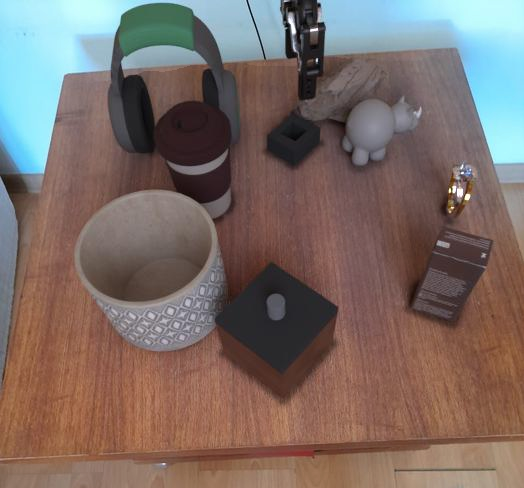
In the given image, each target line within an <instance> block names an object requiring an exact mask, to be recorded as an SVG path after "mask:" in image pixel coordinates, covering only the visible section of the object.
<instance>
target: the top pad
mask: <svg viewBox="0 0 524 488" xmlns="http://www.w3.org/2000/svg"><path fill="white" fill-rule="evenodd" d="M292 138H293V139H294V140H293V139H292ZM320 141H321V127H320V126H319V125H317V124H314V123H313V122H311V121H310V120H305V119H304V118H302V117H300V116H298V115H296V114H295V113H292V114H291V115H290V114H289V115H288V116H287V117H286V118H285V119H284V120H282V122H280V123H279V124H278V125H277V126H276V127H274V129H272V130H271V131H269V133H268V134H267V135H266V148H267V151H268V152H269V153H271V154H273V155H274V156H276V157H278V158H280V159H281V160H283V161H285V162H286V163H288V164H290V165H291V166H293V167H295V166H297V165H298V164H299V163H300V162H301V161H302V160H303V159H304V158H305V157H306V156H307V155H309V153H310V152H312V151H313V150H314V149H316V147H317V146H318V145H320Z"/></svg>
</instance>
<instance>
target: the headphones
mask: <svg viewBox="0 0 524 488" xmlns="http://www.w3.org/2000/svg"><path fill="white" fill-rule="evenodd" d="M157 46H158V47H159V46H170V47H177V48H178V47H179V48H182V49H185V50H189V51H191V52H195V53H197V54H198V55H199V56H200V57H201V58H202V59H203V60H204V61H205V63H206V64H207V66H208V67H209V68H205V69H203V71H202V75H201V90H202V91H201V93H202V102H204V103H206V104H209V105H212V106H214V107H217V108H219V109H220V110H221V111H223V112H224V113H225V114H226V116H227V117H228V119H229V121H230V125H231V132H232V138H231V143H230V145H229V146H233V145H236V144H237V143H238V142H239V141H240V139H241V133H242V131H241V130H242V127H241V113H240V111H241V110H240V102H239V91H238V84H237V79H236V76H235V75H234V72H232V71H231V70H228V69H225V68H224V64H223V58H222V55H221V51H220V48H219V44H218V43H217V41H216V38H215V37H214V34H213V33H212V31H211V29H210V28H209V27H208V26H207V25H206V23H205V22H204V21H203V20H201V18H199V17H198V16H197V15H195V13H194V10H193V9H192V8H190V7H188V6H185V5H182V4H178V3H172V2H153V3H152V2H151V3H145V4H141V5H137V6H134V7H132V8H130V9H128V10H126V11H124V13H122V14H121V15H120V20H119V25H118V27H117V29H116V31H115V35H114V38H113V46H112V53H111V62H110V81H111V83H110V84H109V86H108V90H107V109H108V117H109V122H110V126H111V130H112V132H113V136H114V137H115V140H116V142H117V144H118V145H119V146H120V148H121V149H122V150H124V151H125V152H126V153H131V154H135V153H139V154H142V155H148V154H152V153H153V152H154V150H155V147H156V143H155V140H154V128H155V126H156V123H155V117H154V110H153V103H152V100H151V96H150V91H149V89H148V86H147V84H146V82H145V79H144V78H143V77H142V75H139V74H129V75H127V76H126V77H125V75H124V70H123V65H122V61H123V59H125V58H127V57H129V56H130V55H131V54H133V53H135V52H137V51H139V50H142V49H145V48H146V49H147V48H150V47H157Z"/></svg>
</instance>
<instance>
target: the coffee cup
mask: <svg viewBox="0 0 524 488" xmlns="http://www.w3.org/2000/svg"><path fill="white" fill-rule="evenodd" d="M231 138H232V132H231V125H230V121H229V119H228V117H227V116H226V114H225V113H224V112H223V111H221V110H220V109H219V108H217V107H214V106H212V105H209V104H206V103H204V102H203V101H200V100H186V101H182V102H179V103H176V104H175V105H173V106H172V107H170V108H169V109H168V110H167V111H166V112H165V113H164V114H162V115H161V117H160V118H159V119H158V120H157V122H156V123H155V128H154V140H155V147H156V150H157V151H158V154H159V155H160V156H161V157H162V159H164V162H165V165H166V167H167V171H168V173H169V176H170V179H171V181H172V183H173V186H174V188H175V192H177V193H180V194H183V195H185V196H188V197H190V198H192V199H193V200H195V201H196V202H198V203H199V204H200V205H201V206H202V207H203V208H205V210H206V211H207V212H208V213H209V215H210V216H211V218H212V220H213V219H217V218H219V217H221V216H223V215H224V214H225V213H226V212H227V211H228V209H229V208H230V205H231V202H232V189H231V185H232V164H231V162H232V161H231V148H230V146H231V145H230V143H231Z"/></svg>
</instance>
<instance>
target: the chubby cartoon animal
mask: <svg viewBox="0 0 524 488" xmlns="http://www.w3.org/2000/svg"><path fill="white" fill-rule="evenodd" d="M405 98H406V95H405V94H402V95H401V96H400V98H399V99H398V101H397V102H395V103H394V104H392V106H390V105H388V104H387V102H385V101H383V100H382V99H381V100H380V99H378V98H377V99H368V100H364V101H362V102H360V103H359V104H357V105H356V106H355V107H354V108H353V109H352V111H351V112H350V114H349V116H348V118H347V122H346V123H345V135H344V136H343V139H342V142H341V148H342V149H343V151H345V152H348V153H351V162H352V164H353V165H354V166H357V167H363V166H366V165H367V164H368V162H369V159H370V160H372V161H374V162H379V161H382V160H383V159H384V158H385V157H386V152H387V145H388V144H389V142H390V141H391V139H392V138H393V136H394V134H402V133H405V132H411V131H413V130H415V128H416V127H417V126H418V125H419V123H420V122H419V118H420V117H421V115H422V112H423V111H422V110H423V109H422V106H420V107H419V108H418V109H417V111H416V110H415V111H414V108H413V107H411V105H410V104H408V103H407V102H406V101H405Z"/></svg>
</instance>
